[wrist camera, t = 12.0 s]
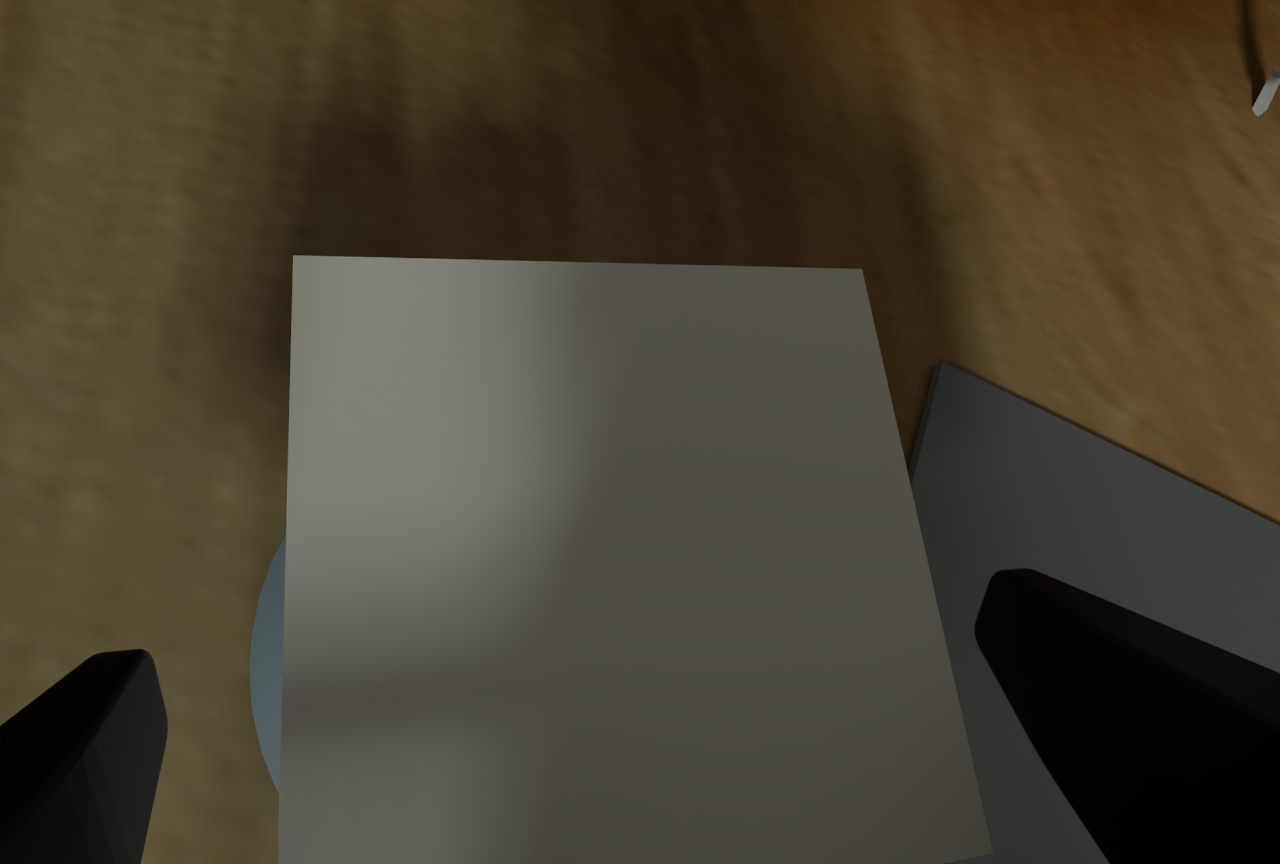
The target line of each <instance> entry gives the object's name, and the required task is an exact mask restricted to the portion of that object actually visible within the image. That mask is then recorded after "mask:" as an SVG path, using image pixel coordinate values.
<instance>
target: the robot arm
mask: <svg viewBox="0 0 1280 864" xmlns="http://www.w3.org/2000/svg"><path fill="white" fill-rule="evenodd" d="M974 633H975V639H976V642H977V644H978V647H979V649H980V650H981V652H982V654H983V656H984V658H985V660H986V661H987V663H988V665H989V667H990V669H991V671H992V672H993V674H994V676H995V678H996V680H997V681H998V683H999V685H1000V687H1001V689H1002V691H1003V692H1004V694H1005V696H1006V698H1007V700H1008V702H1009V703H1010V705H1011V707H1012V709H1013V711H1014V713H1015V714H1016V716H1017V718H1018V720H1019V722H1020V724H1021V725H1022V727H1023V729H1024V731H1025V733H1026V735H1027V736H1028V738H1029V740H1030V742H1031V744H1032V745H1033V747H1034V749H1035V750H1036V752H1037V754H1038V756H1039V757H1040V759H1041V761H1042V762H1043V764H1044V765H1045V767H1046V769H1047V770H1048V772H1049V773H1050V775H1051V776H1052V778H1053V779H1054V781H1055V782H1056V784H1057V785H1058V787H1059V788H1060V790H1061V791H1062V793H1063V794H1064V796H1065V797H1066V799H1067V800H1068V802H1069V803H1070V805H1071V806H1072V808H1073V809H1074V811H1075V813H1076V814H1077V816H1078V817H1079V819H1080V820H1081V822H1082V823H1083V825H1084V826H1085V828H1086V829H1087V831H1088V832H1089V834H1090V835H1091V837H1092V838H1093V840H1094V841H1095V843H1096V844H1097V846H1098V847H1099V849H1100V850H1101V852H1102V853H1103V855H1104V856H1105V858H1106V859H1107V861H1108V862H1109V864H1280V673H1279V672H1276V671H1274V670H1271V669H1269V668H1267V667H1264V666H1262V665H1260V664H1257V663H1255V662H1252V661H1250V660H1248V659H1245V658H1243V657H1241V656H1238V655H1236V654H1233V653H1231V652H1229V651H1226V650H1224V649H1221V648H1219V647H1217V646H1214V645H1212V644H1210V643H1207V642H1205V641H1202V640H1200V639H1198V638H1195V637H1193V636H1191V635H1188V634H1186V633H1183V632H1181V631H1179V630H1176V629H1174V628H1172V627H1169V626H1167V625H1164V624H1162V623H1160V622H1157V621H1155V620H1153V619H1150V618H1148V617H1145V616H1143V615H1141V614H1138V613H1136V612H1134V611H1131V610H1129V609H1126V608H1124V607H1122V606H1119V605H1117V604H1115V603H1112V602H1110V601H1107V600H1105V599H1103V598H1100V597H1098V596H1096V595H1093V594H1091V593H1088V592H1086V591H1084V590H1081V589H1079V588H1077V587H1074V586H1072V585H1069V584H1067V583H1065V582H1062V581H1060V580H1058V579H1055V578H1053V577H1050V576H1048V575H1046V574H1043V573H1041V572H1039V571H1036V570H1033V569H1030V568H1016V569H1005V570H1000V571H997V572H996V573H995V574H994V575H993V576H992V577H991V578H990V580H989V583H988V586H987V589H986V592H985V594H984V597H983V600H982V603H981V606H980V609H979V612H978V615H977V618H976V621H975V625H974ZM167 732H168V721H167V713H166V709H165V705H164V701H163V697H162V692H161V688H160V684H159V680H158V676H157V672H156V667H155V663H154V660H153V658H152V656H151V655H150V653H149V652H147V651H145V650H143V649H134V650H123V651H112V652H103V653H98V654H95V655H93V656H91V657H90V658H88V659H87V660H85V661H84V662H83V663H81V664H80V665H79V666H78V667H76V668H75V669H74V670H72V671H71V672H70V673H68V674H67V675H66V676H64V677H63V678H62V679H61V680H59V681H58V682H57V683H55V684H54V685H53V686H51V687H50V688H49V689H48V690H46V691H45V692H44V693H42V694H41V695H40V696H38V697H37V698H36V699H35V700H33V701H32V702H31V703H29V704H28V705H27V706H25V707H24V708H23V709H22V710H20V711H19V712H18V713H16V714H15V715H14V716H12V717H11V718H10V719H9V720H7V721H6V722H5V723H3V724H2V725H1V726H0V864H141V859H142V855H143V850H144V845H145V841H146V836H147V831H148V826H149V822H150V817H151V812H152V808H153V803H154V798H155V793H156V789H157V784H158V779H159V775H160V770H161V765H162V761H163V756H164V751H165V746H166V741H167Z"/></svg>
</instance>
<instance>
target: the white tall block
mask: <svg viewBox="0 0 1280 864" xmlns="http://www.w3.org/2000/svg"><path fill="white" fill-rule="evenodd" d="M988 854H993V851H992V846H991V842H990V837H989V833H988V828H987V824H986V819H985V815H984V810H983V806H982V801H981V797H980V793H979V788H978V784H977V779H976V775H975V770H974V766H973V761H972V757H971V752H970V748H969V744H968V739H967V735H966V730H965V726H964V721H963V717H962V712H961V708H960V703H959V699H958V694H957V690H956V686H955V681H954V677H953V672H952V668H951V663H950V659H949V654H948V650H947V645H946V641H945V636H944V632H943V628H942V623H941V619H940V614H939V610H938V605H937V601H936V596H935V592H934V587H933V583H932V579H931V574H930V570H929V565H928V561H927V556H926V552H925V547H924V543H923V538H922V534H921V529H920V525H919V521H918V516H917V512H916V507H915V503H914V498H913V494H912V489H911V485H910V480H909V476H908V472H907V467H906V463H905V458H904V454H903V449H902V445H901V440H900V436H899V431H898V427H897V422H896V418H895V414H894V409H893V405H892V400H891V396H890V391H889V387H888V382H887V378H886V373H885V369H884V364H883V360H882V356H881V351H880V347H879V342H878V338H877V333H876V329H875V324H874V320H873V315H872V311H871V307H870V302H869V298H868V293H867V289H866V284H865V280H864V275H863V271H862V269H841V268H799V267H758V266H716V265H674V264H633V263H591V262H549V261H507V260H466V259H424V258H382V257H341V256H299V255H293V281H292V321H291V360H290V400H289V440H288V480H287V520H286V559H285V599H284V639H283V679H282V719H281V758H280V798H279V838H278V864H944V863H949V862H954V861H959V860H963V859H968V858H973V857H978V856H983V855H988Z"/></svg>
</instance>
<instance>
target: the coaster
mask: <svg viewBox="0 0 1280 864" xmlns="http://www.w3.org/2000/svg"><path fill="white" fill-rule="evenodd" d="M285 559H286V534H285V536H284V538H283V540H282V542H281V544H280V546H279V548H278V550H277V552H276V554H275V556H274V558H273V560H272V562H271V565H270V568H269V570H268V573H267V576H266V579H265V582H264V585H263V588H262V591H261V594H260V597H259V601H258V606H257V611H256V616H255V621H254V626H253V631H252V638H251V654H250V671H249V675H250V688H251V701H252V713H253V717H254V722H255V726H256V731H257V735H258V740H259V744H260V748H261V752H262V754H263V757H264V760H265V762H266V765H267V767H268V770H269V773H270V775H271V778H272V780H273V783H274V786H275V788H276V789H277V791H278V793H279V795H280V758H281V719H282V679H283V639H284V599H285Z"/></svg>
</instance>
